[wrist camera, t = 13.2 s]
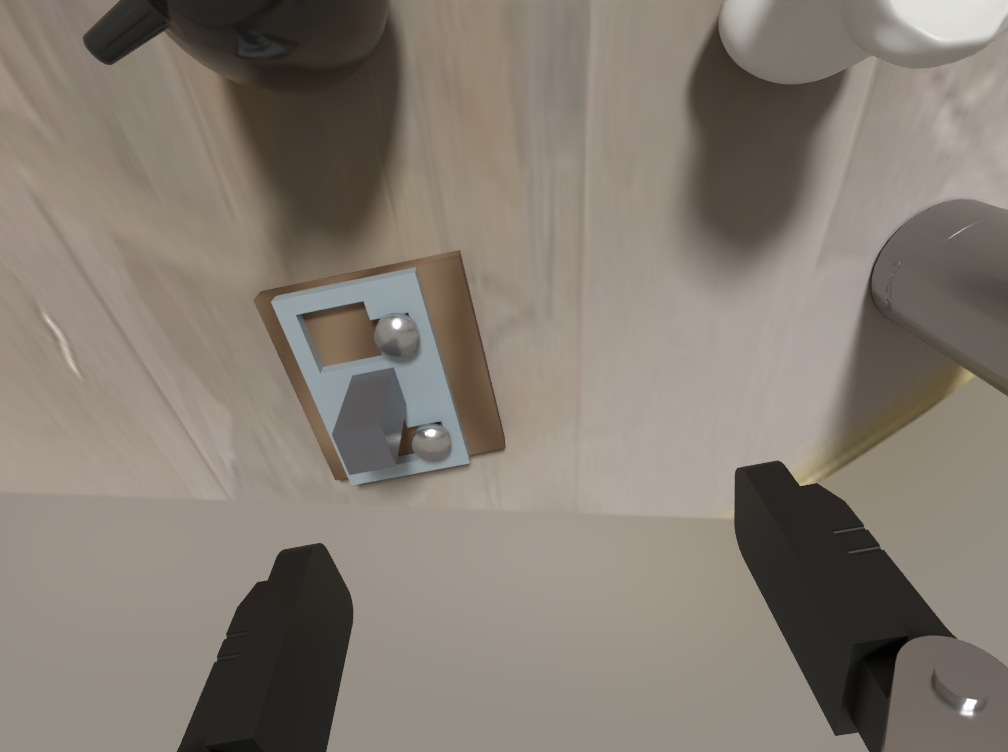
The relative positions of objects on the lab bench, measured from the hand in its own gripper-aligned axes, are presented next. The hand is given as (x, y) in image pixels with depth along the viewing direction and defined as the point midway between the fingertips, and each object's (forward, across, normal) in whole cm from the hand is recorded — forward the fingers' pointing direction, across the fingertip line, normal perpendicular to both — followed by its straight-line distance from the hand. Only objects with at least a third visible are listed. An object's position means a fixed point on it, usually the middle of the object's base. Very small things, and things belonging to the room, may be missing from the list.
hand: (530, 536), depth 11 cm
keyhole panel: (+28, +11, +11) cm, 32 cm away
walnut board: (+29, +10, +11) cm, 33 cm away
